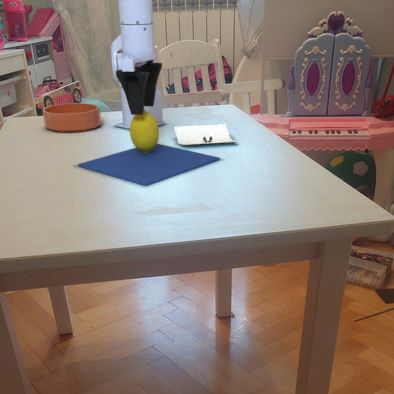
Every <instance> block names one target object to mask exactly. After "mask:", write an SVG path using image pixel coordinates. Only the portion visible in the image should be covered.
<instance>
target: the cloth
mask: <svg viewBox="0 0 394 394" xmlns="http://www.w3.org/2000/svg"><path fill="white" fill-rule="evenodd" d="M220 160H221V157H218V156H215V155H210V154H206V153H202V152H196V151H193V150H187V149H183V148H179V147H175V146H169V145H165V144H161V143H157V144H156V146H155V147H154V148H153V149H151V150H150V151H149V152H148V153H147V154H144V153H143V152H142V151H141V150H139V149H138V148H136V147H133V148H130V149H126V150H123V151H119V152H117V153H112V154H108V155H105V156H103V157H98V158H95V159H91V160H88V161H84V162H80V163H78V164H77V166H78V167H81V168H83V169H87V170H89V171H94V172H97V173H101V174H103V175H106V176H111V177H114V178H117V179H121V180H124V181H128V182H131V183H134V184H138V185H142V186H144V187H146V186H149V185H153V184H156V183H158V182H161V181H164V180H166V179H167V180H168V179H170V178H172V177H175V176H178V175H181V174H184V173H187V172H189V171H192V170H195V169H198V168H201V167H203V166H206V165H209V164H212V163H215V162H217V161H220Z"/></svg>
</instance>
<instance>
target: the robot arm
mask: <svg viewBox="0 0 394 394" xmlns="http://www.w3.org/2000/svg"><path fill="white" fill-rule="evenodd" d="M117 1H118V2H117V3H118V12H119V13H118V14H119V26H120V34H119V35H118V36H117V37H116V38H115V39H114V40H113V41H112V43H111V45H110V56H111V67H112V68H111V69H112V78H113V81H114V82H115V84H118V85H119V92H120V93H119V94H120V104H121V105H120V106H121V116H122V122H119V123H115V125H114V126H115V127H119V128H121V129H122V128H124V129H127V130H130V125H131V121H132V118H133V117H134V115H142V114H143V111H144V110H145V111H146V112H149V113H150V114H152V115H153V116H154V117H155V119H156V121H157V124H158V127H159V126H161V125H165V124H166V121H164V117H163V116H164V115H163V96H162V91H161V89H160V87H159V85H158V81H159V77H160V74H161V71H162V69H163V63H162V62H157V53H156V47H155V46H156V45H155V26H154V7H153V5H154V4H153V0H117ZM121 50H122V51H121Z"/></svg>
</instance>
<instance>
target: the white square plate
mask: <svg viewBox="0 0 394 394" xmlns="http://www.w3.org/2000/svg"><path fill="white" fill-rule="evenodd" d="M173 128H174V134H175V136H176V140H177V142H178V144H179V145H183V146H185V145H186V146H187V145H204V144H206V145H207V144H220V143H236V142H237V143H238V142H240V141H239V140H233V139H232V138H231V136H230V133H229V130H228V127H227V124H226V123H223V124H222V123H221V124H220V123H219V124H204V125H201V124H200V125H183V126H173Z"/></svg>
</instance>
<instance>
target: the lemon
mask: <svg viewBox="0 0 394 394" xmlns="http://www.w3.org/2000/svg"><path fill="white" fill-rule="evenodd" d="M159 130H160V129H159V126H158V124H157V121H156V119H155V117H154V116H153V115H152V114H150V113H149V112H146V111H145V110H144V111H143V114H142V115H134V117H133V118H132V121H131V125H130V129H129V136H130V139H131V143H132V144H133V146H134V148H138V149H139V150H141V151H142V152H143V153H144V154H147V153H148V152H149V151H150V150H151V149H153V148H154V147H155V146H156V144H158V143H159V139H160V131H159Z"/></svg>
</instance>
